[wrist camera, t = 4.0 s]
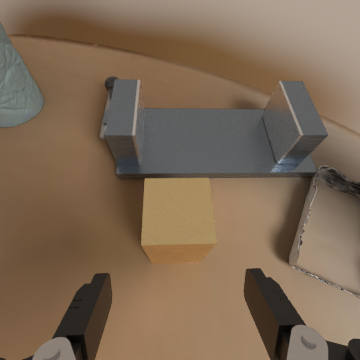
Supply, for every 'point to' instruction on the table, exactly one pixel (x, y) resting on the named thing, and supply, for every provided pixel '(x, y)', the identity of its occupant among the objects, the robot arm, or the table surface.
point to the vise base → (188, 140)
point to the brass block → (177, 219)
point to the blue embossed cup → (16, 87)
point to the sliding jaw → (292, 123)
